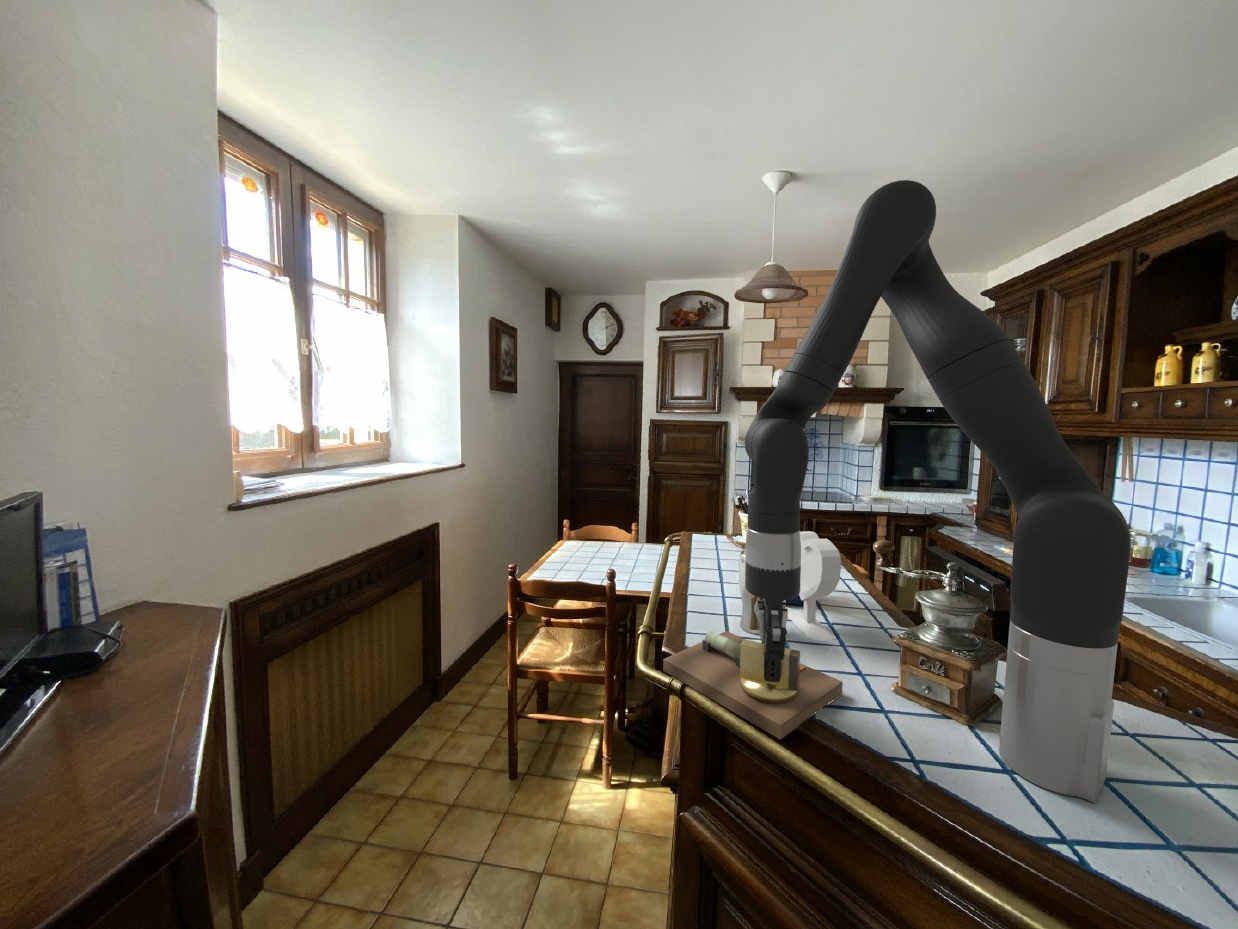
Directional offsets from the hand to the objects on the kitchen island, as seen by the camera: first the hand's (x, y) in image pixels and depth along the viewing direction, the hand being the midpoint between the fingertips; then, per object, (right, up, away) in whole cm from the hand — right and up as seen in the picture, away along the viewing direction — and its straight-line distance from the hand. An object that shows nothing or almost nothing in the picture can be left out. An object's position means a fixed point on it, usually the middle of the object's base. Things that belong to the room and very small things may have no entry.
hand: (770, 674), depth 72 cm
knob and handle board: (-2, -4, +6) cm, 7 cm away
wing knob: (0, -2, 0) cm, 2 cm away
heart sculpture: (+16, -1, +26) cm, 30 cm away
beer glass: (+5, -2, +25) cm, 25 cm away
